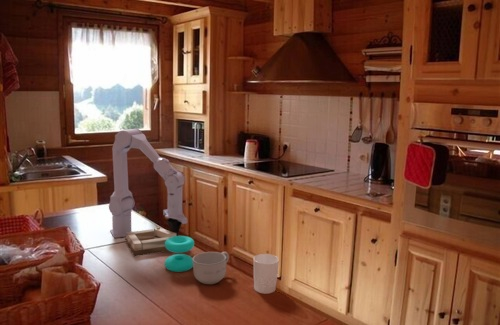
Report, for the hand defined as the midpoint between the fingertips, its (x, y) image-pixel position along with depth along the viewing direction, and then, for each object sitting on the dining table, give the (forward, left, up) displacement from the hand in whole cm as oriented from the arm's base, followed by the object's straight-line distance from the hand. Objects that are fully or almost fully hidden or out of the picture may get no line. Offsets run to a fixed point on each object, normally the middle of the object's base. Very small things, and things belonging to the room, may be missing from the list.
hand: (174, 236), depth 168 cm
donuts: (+23, -6, -3) cm, 23 cm away
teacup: (+36, +1, -3) cm, 36 cm away
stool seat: (+1, -11, -3) cm, 11 cm away
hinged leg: (-1, -4, 0) cm, 4 cm away
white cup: (+49, +13, -3) cm, 50 cm away
